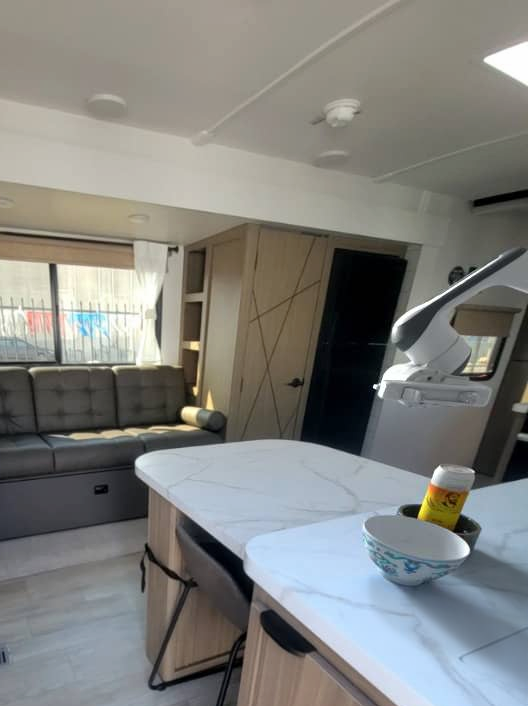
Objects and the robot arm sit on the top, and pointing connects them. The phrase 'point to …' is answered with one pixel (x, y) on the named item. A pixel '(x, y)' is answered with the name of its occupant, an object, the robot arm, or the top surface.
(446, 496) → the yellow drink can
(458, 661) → the top surface
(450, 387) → the robot arm
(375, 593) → the top surface
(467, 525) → the dark green bowl
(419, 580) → the chinaware
